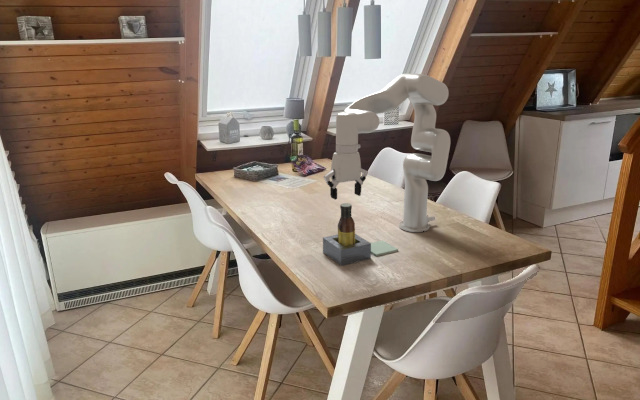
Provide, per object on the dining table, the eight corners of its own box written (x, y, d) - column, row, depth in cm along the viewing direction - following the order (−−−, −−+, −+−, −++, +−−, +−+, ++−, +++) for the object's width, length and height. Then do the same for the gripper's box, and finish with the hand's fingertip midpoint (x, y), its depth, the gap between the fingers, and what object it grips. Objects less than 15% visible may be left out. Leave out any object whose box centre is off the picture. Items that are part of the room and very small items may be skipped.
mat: (382, 242, 191) (382, 240, 191) (398, 251, 183) (398, 249, 183) (361, 247, 187) (361, 245, 187) (376, 256, 179) (376, 254, 178)
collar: (351, 246, 188) (351, 231, 186) (370, 258, 177) (371, 243, 175) (323, 252, 183) (322, 237, 181) (341, 265, 171) (341, 250, 169)
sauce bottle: (344, 250, 184) (345, 200, 178) (358, 254, 180) (359, 203, 174) (334, 256, 179) (334, 204, 173) (348, 260, 175) (348, 208, 169)
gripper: (362, 145, 175) (360, 191, 180) (319, 149, 167) (319, 197, 172) (373, 148, 168) (372, 196, 173) (330, 153, 160) (329, 202, 165)
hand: (345, 196), depth 172 cm, fingers open, 9 cm apart
